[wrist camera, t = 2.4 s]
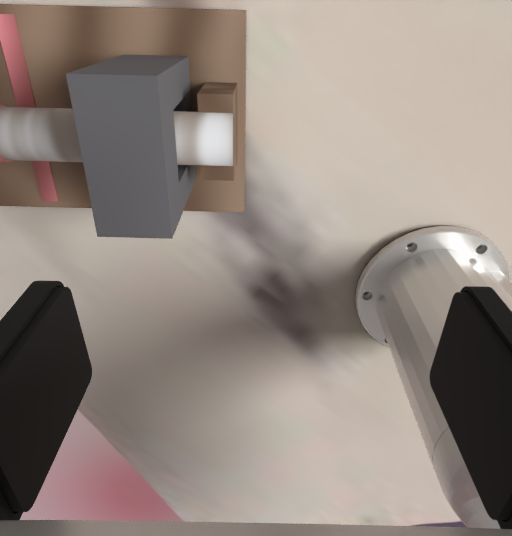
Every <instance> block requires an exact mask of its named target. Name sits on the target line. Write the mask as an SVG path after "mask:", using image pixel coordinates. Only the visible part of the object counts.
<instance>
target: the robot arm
mask: <svg viewBox="0 0 512 536" xmlns="http://www.w3.org/2000/svg"><path fill="white" fill-rule="evenodd" d="M409 243H410V244H409ZM356 307H357V311H358V315H359V318H360V320H361V323H362V325H363V326H364V328H365V329H366V331H367V332H368V333H369V334H370V335H371V336H372V337H373V338H374V339H375V340H377V341H378V342H380V343H381V344H383V345H385V346H387V347H389V348H390V351H391V353H392V356H393V359H394V361H395V364H396V367H397V370H398V372H399V375H400V378H401V380H402V383H403V386H404V389H405V391H406V394H407V397H408V400H409V402H410V405H411V408H412V410H413V413H414V416H415V419H416V421H417V424H418V427H419V429H420V432H421V435H422V438H423V440H424V443H425V446H426V449H427V451H428V454H429V457H430V459H431V462H432V465H433V468H434V470H435V472H436V475H437V478H438V480H439V483H440V486H441V488H442V490H443V492H444V495H445V497H446V499H447V501H448V502H449V504H450V506H451V507H452V509H453V511H454V512H455V513H456V515H457V516H458V517H459V518H460V520H461V521H462V522H463V523H464V524H465V525H466V526H467V527H468V528H463V527H461V528H460V527H421V526H420V527H419V526H378V525H334V524H280V523H224V522H159V521H150V522H149V521H78V520H77V521H75V520H70V521H69V520H20V517H21V515H22V513H23V512H27V511H29V510H30V509H31V507H32V506H33V504H34V502H35V500H36V498H37V496H38V493H39V491H40V489H41V487H42V485H43V483H44V480H45V478H46V476H47V474H48V471H49V470H50V467H51V465H52V463H53V461H54V459H55V457H56V454H57V452H58V450H59V448H60V446H61V444H62V441H63V439H64V437H65V435H66V433H67V431H68V428H69V426H70V424H71V422H72V420H73V418H74V415H75V413H76V411H77V409H78V407H79V405H80V402H81V400H82V398H83V396H84V394H85V392H86V389H87V387H88V385H89V383H90V380H91V376H92V367H91V363H90V359H89V356H88V352H87V348H86V345H85V341H84V337H83V333H82V330H81V326H80V322H79V319H78V315H77V311H76V308H75V304H74V300H73V297H72V293H71V290H70V289H69V288H68V287H64V285H63V284H62V283H61V282H60V281H34V282H33V283H32V284H31V285H30V286H29V287H28V288H27V290H26V291H25V292H24V293H23V294H22V296H21V297H20V298H19V299H18V300H17V301H16V303H15V304H14V305H13V306H12V307H11V309H10V310H9V311H8V312H7V313H6V315H5V316H4V317H3V318H2V319H1V321H0V536H512V283H511V282H510V272H509V268H508V265H507V261H506V260H505V258H504V257H503V255H502V253H501V252H500V251H499V250H498V248H497V247H496V246H495V245H494V244H493V243H492V242H491V241H489V240H488V239H487V238H485V237H484V236H482V235H481V234H479V233H476V232H474V231H472V230H469V229H465V228H460V227H455V226H436V227H429V228H423V229H420V230H417V231H413V232H410V233H408V234H406V235H404V236H402V237H399V238H397V239H395V240H394V241H392V242H391V243H389V244H388V245H386V246H385V247H384V248H382V249H381V250H380V251H379V252H378V253H377V254H376V255H375V256H374V257H373V258H372V259H371V260H370V262H369V263H368V264H367V266H366V267H365V268H364V270H363V272H362V274H361V276H360V279H359V281H358V285H357V289H356Z"/></svg>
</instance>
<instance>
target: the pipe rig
mask: <svg viewBox="0 0 512 536" xmlns="http://www.w3.org/2000/svg"><path fill="white" fill-rule="evenodd" d="M121 55H162V56H189V74H190V92H191V110H192V112H186V111H173V113H174V126H175V139H176V152H177V165H195V183H194V185H193V188H192V190H191V193H190V195H189V198H188V200H187V203H186V205H185V208H184V210H183V211H219V212H244V209H245V122H246V10H219V9H179V8H138V7H98V6H57V5H17V4H0V206H31V207H69V208H92V206H91V201H90V195H89V190H88V185H87V180H86V175H85V170H84V165H83V160H82V154H81V149H80V144H79V139H78V134H77V129H76V124H75V119H74V113H73V108H72V103H71V98H70V93H69V88H68V83H67V78H66V73H69V72H72V71H75V70H78V69H81V68H84V67H87V66H91V65H94V64H97V63H100V62H103V61H106V60H109V59H112V58H115V57H118V56H121Z"/></svg>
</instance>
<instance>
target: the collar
mask: <svg viewBox="0 0 512 536" xmlns="http://www.w3.org/2000/svg"><path fill="white" fill-rule="evenodd" d="M66 78H67V83H68V88H69V93H70V98H71V103H72V108H73V113H74V119H75V124H76V129H77V134H78V139H79V144H80V149H81V154H82V160H83V165H84V170H85V175H86V180H87V185H88V190H89V195H90V201H91V206H92V211H93V216H94V221H95V226H96V231H97V237H134V238H171V239H172V237H173V235H174V232H175V230H176V227H177V225H178V222H179V220H180V218H181V215H182V213H183V210H184V208H185V205H186V203H187V200H188V198H189V195H190V193H191V190H192V188H193V185H194V183H195V165H177V152H176V139H175V126H174V113H173V111H186V112H192V110H191V92H190V74H189V56H162V55H121V56H118V57H115V58H112V59H109V60H106V61H103V62H100V63H97V64H94V65H91V66H87V67H84V68H81V69H78V70H75V71H72V72H69V73H66Z"/></svg>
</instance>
